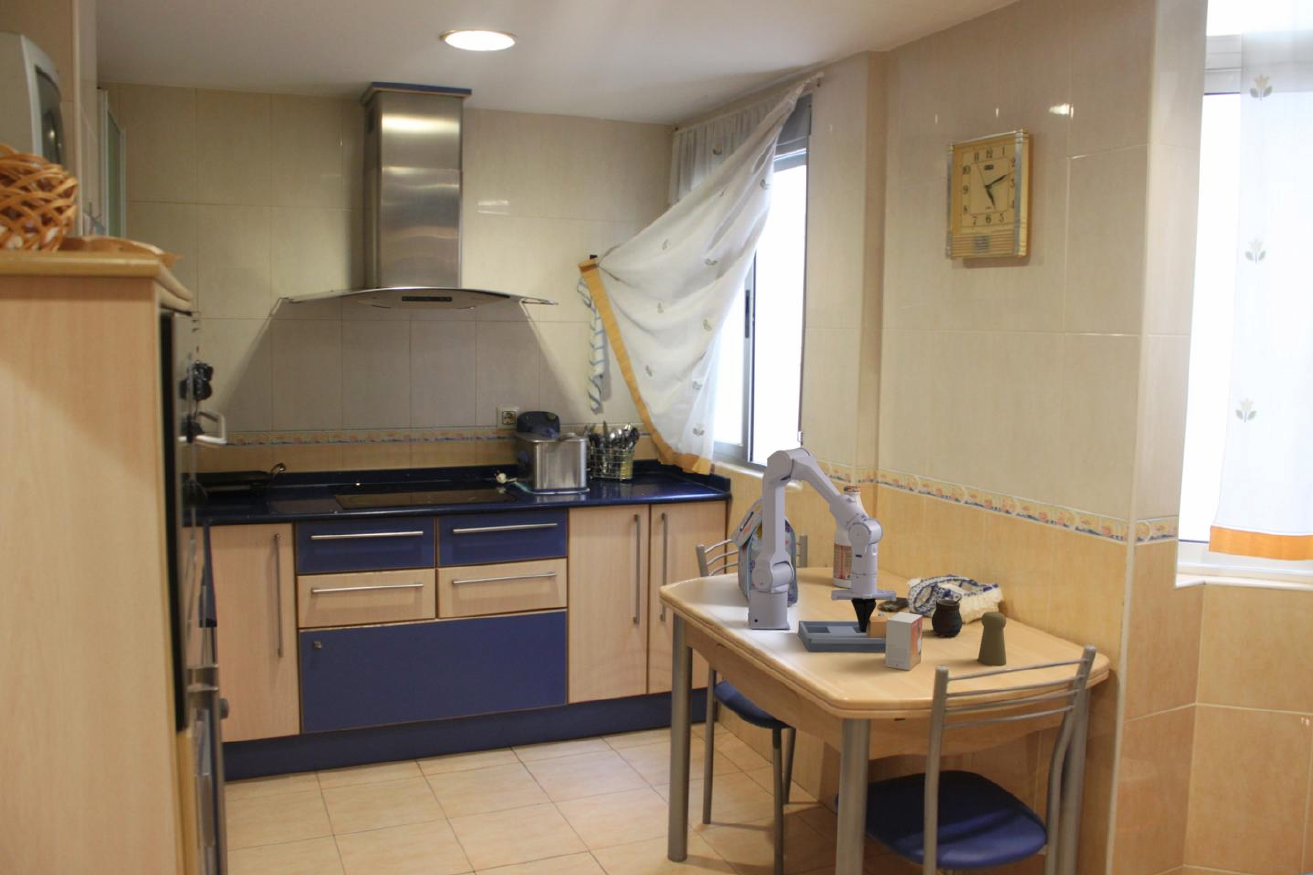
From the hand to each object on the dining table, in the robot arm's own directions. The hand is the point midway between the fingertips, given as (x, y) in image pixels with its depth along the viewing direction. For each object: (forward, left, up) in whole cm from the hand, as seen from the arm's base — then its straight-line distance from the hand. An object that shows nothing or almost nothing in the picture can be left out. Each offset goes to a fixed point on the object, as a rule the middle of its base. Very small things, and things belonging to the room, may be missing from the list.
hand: (862, 630), depth 249 cm
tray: (-3, +3, -4) cm, 6 cm away
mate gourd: (+22, +10, -4) cm, 25 cm away
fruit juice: (+8, +59, -4) cm, 60 cm away
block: (+4, 0, -2) cm, 4 cm away
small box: (+6, -13, -4) cm, 15 cm away
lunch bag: (-18, +45, -4) cm, 49 cm away
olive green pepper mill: (+26, -11, -4) cm, 29 cm away
